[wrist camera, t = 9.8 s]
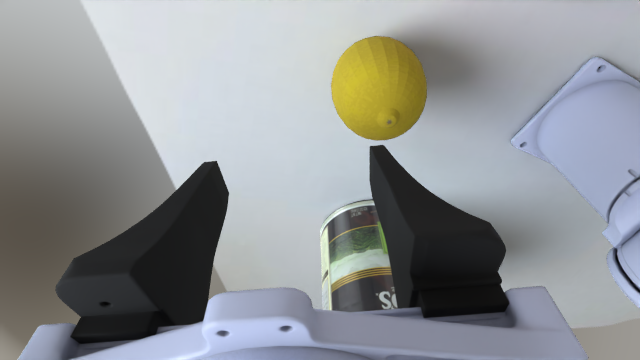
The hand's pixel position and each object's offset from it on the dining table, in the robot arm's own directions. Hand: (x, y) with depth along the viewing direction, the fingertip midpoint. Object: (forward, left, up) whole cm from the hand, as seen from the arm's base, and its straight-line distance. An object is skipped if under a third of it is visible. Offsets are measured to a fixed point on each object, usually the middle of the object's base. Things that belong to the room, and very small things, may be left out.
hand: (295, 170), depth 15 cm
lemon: (-4, -3, -11) cm, 12 cm away
